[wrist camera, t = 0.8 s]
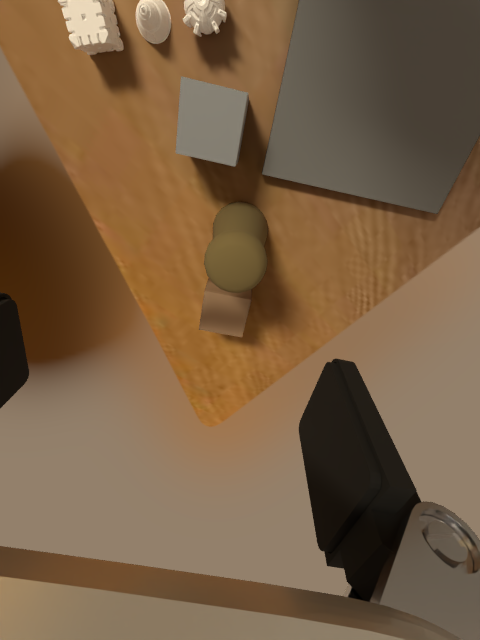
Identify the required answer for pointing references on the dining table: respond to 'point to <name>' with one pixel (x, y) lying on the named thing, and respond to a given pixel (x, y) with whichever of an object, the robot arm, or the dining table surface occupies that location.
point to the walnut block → (224, 310)
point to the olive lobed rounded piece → (237, 248)
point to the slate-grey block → (210, 121)
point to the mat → (379, 99)
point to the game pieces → (151, 17)
